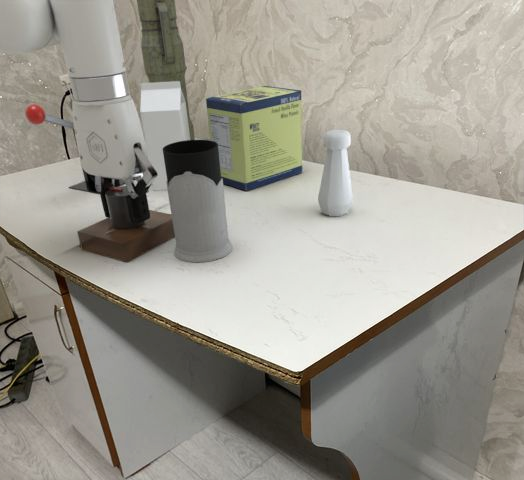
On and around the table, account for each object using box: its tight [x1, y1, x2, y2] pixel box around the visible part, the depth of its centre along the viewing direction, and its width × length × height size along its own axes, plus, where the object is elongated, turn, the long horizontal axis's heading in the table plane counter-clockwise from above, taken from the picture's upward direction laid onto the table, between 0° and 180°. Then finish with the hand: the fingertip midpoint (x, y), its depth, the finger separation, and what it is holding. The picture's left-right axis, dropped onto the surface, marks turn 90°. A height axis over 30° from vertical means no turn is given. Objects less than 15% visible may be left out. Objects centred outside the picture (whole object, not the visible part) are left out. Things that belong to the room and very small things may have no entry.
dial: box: [105, 185, 144, 229], centre depth 82 cm, size 5×5×5 cm
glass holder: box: [163, 139, 233, 263], centre depth 79 cm, size 9×14×15 cm, turn 177°
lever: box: [24, 103, 74, 130], centre depth 97 cm, size 15×3×3 cm, turn 147°
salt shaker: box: [317, 129, 354, 217], centre depth 87 cm, size 6×6×13 cm
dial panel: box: [76, 209, 175, 263], centre depth 84 cm, size 12×10×3 cm
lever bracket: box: [68, 129, 137, 195], centre depth 105 cm, size 10×9×13 cm
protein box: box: [205, 85, 303, 192], centre depth 104 cm, size 10×16×16 cm
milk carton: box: [139, 81, 190, 192], centre depth 100 cm, size 7×7×19 cm
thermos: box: [136, 0, 196, 140], centre depth 116 cm, size 9×12×35 cm
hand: (127, 216), depth 83 cm, fingers open, 5 cm apart
